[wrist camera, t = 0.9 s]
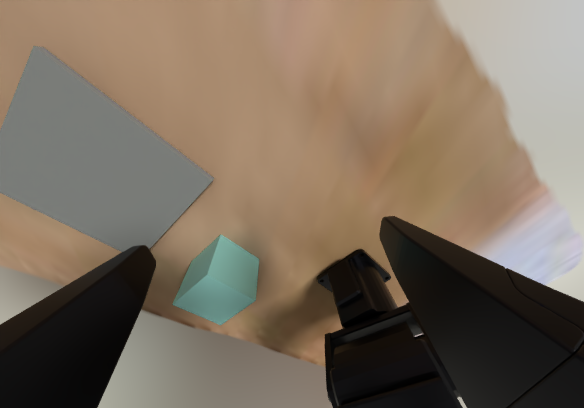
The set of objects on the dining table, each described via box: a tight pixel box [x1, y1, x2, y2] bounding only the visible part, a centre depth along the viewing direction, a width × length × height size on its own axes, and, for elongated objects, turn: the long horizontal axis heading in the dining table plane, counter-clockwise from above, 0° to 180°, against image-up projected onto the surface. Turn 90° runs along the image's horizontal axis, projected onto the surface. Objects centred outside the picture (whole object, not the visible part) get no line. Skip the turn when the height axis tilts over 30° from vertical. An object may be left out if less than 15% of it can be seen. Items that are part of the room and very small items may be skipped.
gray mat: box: [0, 46, 214, 252], centre depth 17 cm, size 12×12×1 cm
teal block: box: [172, 235, 259, 325], centre depth 20 cm, size 5×5×5 cm
